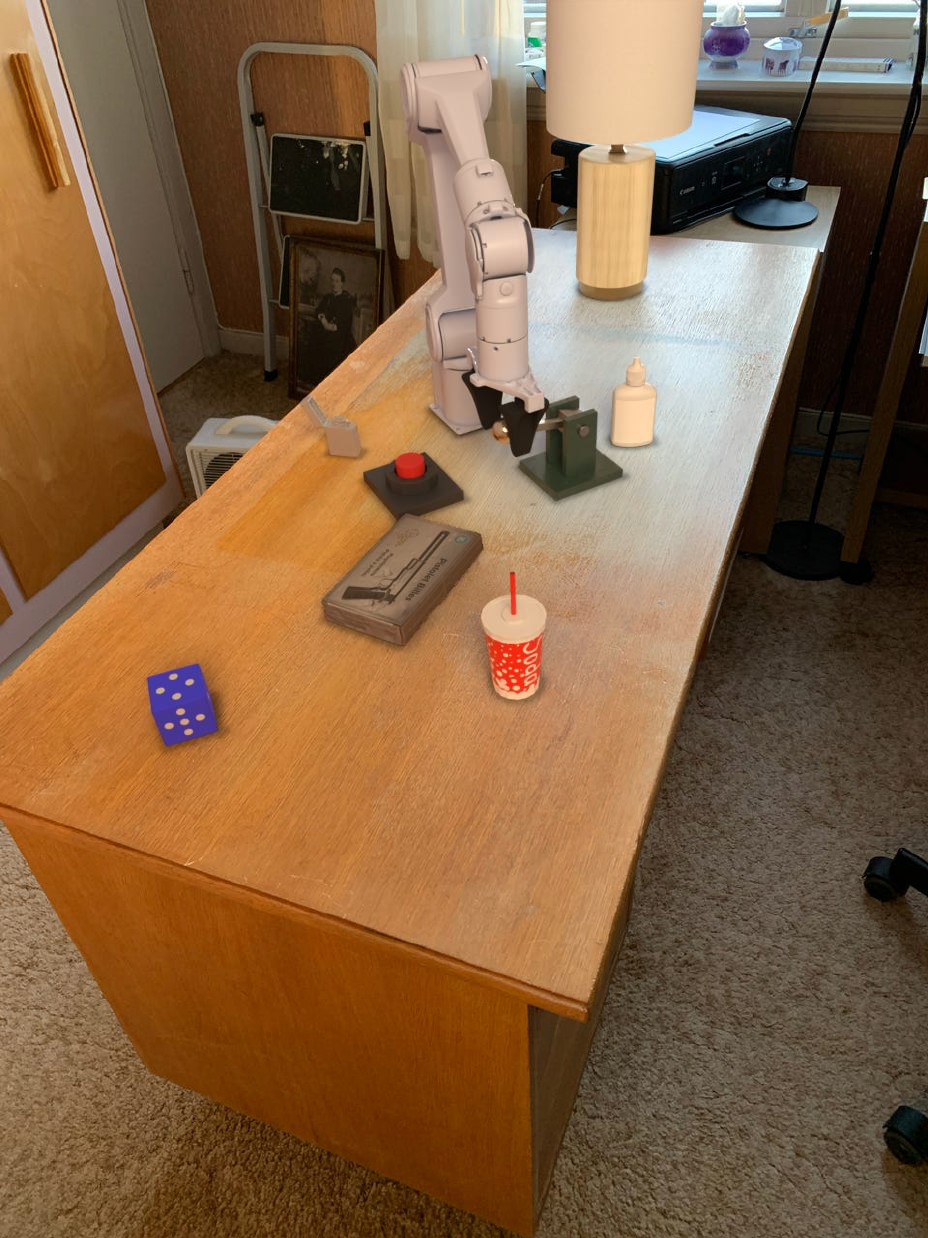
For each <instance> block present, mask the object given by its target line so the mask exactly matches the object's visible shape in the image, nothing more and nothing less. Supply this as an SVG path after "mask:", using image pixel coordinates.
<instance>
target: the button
mask: <svg viewBox="0 0 928 1238" xmlns="http://www.w3.org/2000/svg"><path fill="white" fill-rule="evenodd" d="M395 459H396V460H395ZM395 459H394V460H395V463H396V471H397V475H398V476H399V477H402V478H416V477H419V476H422V475H423V474H424V473H425V464H424V457H423V456H422V455H421V454H420V452H414V451H413V452H409V451H408V452H405V453H401V454H400V455H398V456H397V457H396V458H395Z"/></svg>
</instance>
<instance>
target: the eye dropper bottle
mask: <svg viewBox="0 0 928 1238" xmlns="http://www.w3.org/2000/svg"><path fill="white" fill-rule="evenodd" d="M625 373H626V376H625V382H623V383H620V384H618V385H617V386H615V387H614V388H613V389H612V395H611V396H612V397H611V410H610V412H611V413H610V414H611V415H610V428H609V429H610V430H609V431H610V432H609V437H610V441H611V444H612V445H613V446H615V447H621V448H636V447H643V446H647V445H650V444H652V443H653V441H654V435H655V423H656V411H657V398H658V393H657V389H656V387H655V385H654V384H652V383H650V382H647V381H646V375H647V367H646V366H645V365H644V364H642V363H641V357H640V356H634V357H633V361H632V364H629V365H628V366H627V367H626V372H625Z"/></svg>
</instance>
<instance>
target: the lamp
mask: <svg viewBox="0 0 928 1238" xmlns="http://www.w3.org/2000/svg"><path fill="white" fill-rule="evenodd" d="M704 7H705V0H546V1H545V122H546V125H545V126H546V131H547V132H548V133H549V134H550V135H551V136H554V137H556V138H558V139H561V140H565V141H569V142H574V143H579V144H588V145H592V146H589V147H586V148H584V149H582V150H581V151H580V152H579V153H578V159H577V161H578V163H577V171H578V172H577V203H576V204H577V205H576V206H577V208H576V252H575V253H576V254H575V256H576V257H575V277H576V279H577V280H578V290H579V292H580V293H581V294H582V295H583V296H585V297H587V298H589V299H593V300H599V301H621V300H625V299H630V298H633V297H635V296H637V295H638V294H640V292H642V290H643V286H644V280H645V279H646V278H647V276H648V266H649V265H648V263H649V252H650V251H649V250H650V238H651V237H650V236H651V224H652V212H653V211H652V210H653V197H654V184H655V172H656V171H655V169H656V158H657V157H656V156H657V154H656V151H655V150H654V149H653V148H652V147H650V146H649V145H648V146H647V145H645V144H644V143H649V142H650V143H651V142H656V141H660V140H666V139H668V138H673V137H676V136H677V135H680V134H682V133H684V132H686V131H688V130H689V129H690V128H691V127H692V124H693V117H694V109H695V100H696V91H697V90H696V89H697V82H698V70H699V61H700V52H701V51H700V50H701V39H702V28H703V18H704V17H703V16H704ZM642 143H643V144H642Z"/></svg>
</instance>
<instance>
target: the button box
mask: <svg viewBox="0 0 928 1238" xmlns="http://www.w3.org/2000/svg"><path fill="white" fill-rule="evenodd" d="M419 454H421V455H422V456H423V457H424V464H425V473H424V474H423V475H422V476H419V477H416V478H402V477H399V476H398V475H397V471H396V463H395V460H396V458H395V459H393V460H391V462H389V463H386V464H384V465H380V466H378V467H373V468H371V469H368V470H365V471H363V472H362V475H363V481H364V482H365V483H366V485H367V486H368V487H369V488H370V489H371V490H372V492H373V493H374V494H375V495H376V497H377V498H378V499H379V500H380V501H381V503H382V504H383V505H384V506H385V507H386V508H387V510H388V511H389V513H391V515H392V516H393V517H394V518H395V519H396V521H398V520H399V519H400V518H401V517H402V516H403V515H405V514H406V513H407V514H411V515H414V516H418V517H421V516H422V515H425V514H428V513H431V512H433V511H436V510H440V509H442V508H445V507H448V506H451V505H453V504H456V503H460V502H462V501H464V500H465V496H464V495H465V494H464V490H463V489H462V488H461V486H460V485H458V484H457V482H455V481H454V480H453V479H452V477H450V476H449V475H448V474H447V472H446V471H445V470H443V469H442V467H441V466H440V465H438V463H436V462H435V460H434V459H433V458H432V457H431V456H430V455H429V454H428V453H427V452H426V451H423V452H419Z"/></svg>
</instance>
